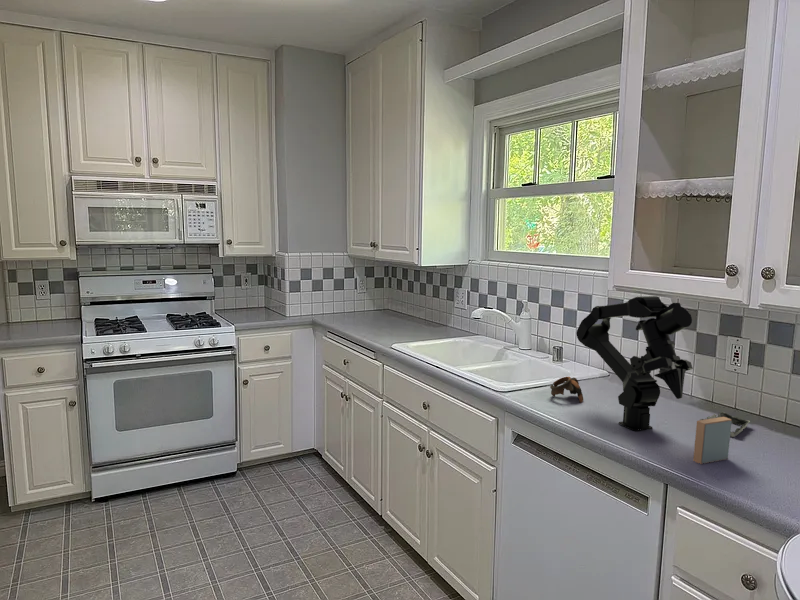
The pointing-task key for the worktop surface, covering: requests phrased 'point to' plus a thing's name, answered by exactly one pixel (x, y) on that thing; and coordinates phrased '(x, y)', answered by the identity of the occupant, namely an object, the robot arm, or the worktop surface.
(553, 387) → the brown arched part
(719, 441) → the flat brown rectangular block
